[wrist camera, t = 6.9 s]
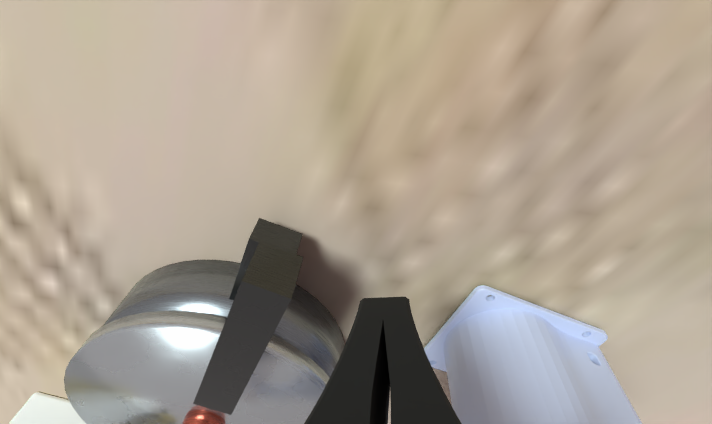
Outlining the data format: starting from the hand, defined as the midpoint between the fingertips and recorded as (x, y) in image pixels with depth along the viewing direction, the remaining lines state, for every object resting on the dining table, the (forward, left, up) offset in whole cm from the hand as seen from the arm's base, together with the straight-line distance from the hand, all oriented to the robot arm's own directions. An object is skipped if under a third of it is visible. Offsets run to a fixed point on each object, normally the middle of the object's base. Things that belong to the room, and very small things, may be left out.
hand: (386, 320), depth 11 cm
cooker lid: (+4, +14, -5) cm, 16 cm away
